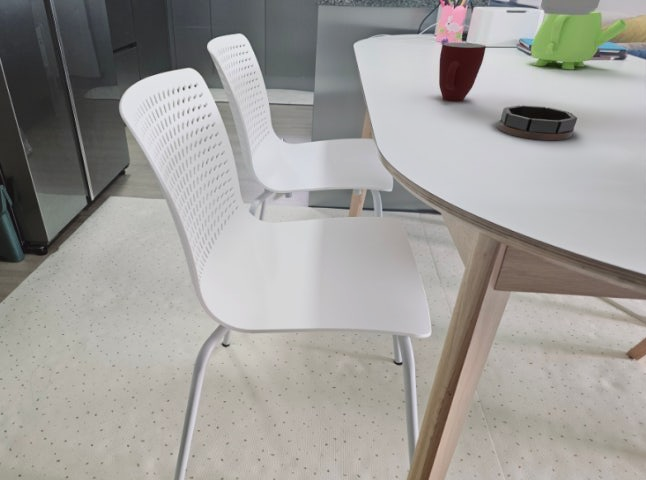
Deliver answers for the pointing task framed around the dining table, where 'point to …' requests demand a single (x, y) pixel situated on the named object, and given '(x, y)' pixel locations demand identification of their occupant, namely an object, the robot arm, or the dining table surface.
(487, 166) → the dining table surface
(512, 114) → the base pad
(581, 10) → the can
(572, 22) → the teapot
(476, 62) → the mug
